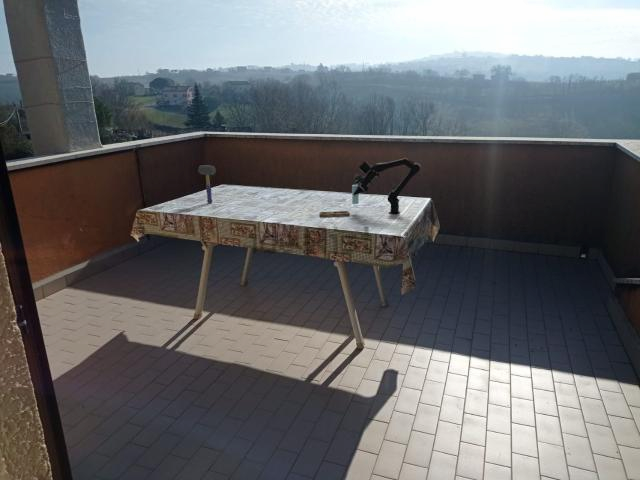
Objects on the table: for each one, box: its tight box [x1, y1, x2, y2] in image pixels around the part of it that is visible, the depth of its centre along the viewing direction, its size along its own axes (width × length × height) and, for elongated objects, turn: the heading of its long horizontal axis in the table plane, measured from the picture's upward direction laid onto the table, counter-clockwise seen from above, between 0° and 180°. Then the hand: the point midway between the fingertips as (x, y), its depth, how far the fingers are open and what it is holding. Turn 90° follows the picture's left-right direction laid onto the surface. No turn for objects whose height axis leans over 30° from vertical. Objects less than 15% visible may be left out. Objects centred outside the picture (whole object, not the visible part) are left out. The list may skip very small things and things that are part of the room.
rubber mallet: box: [197, 164, 217, 204], centre depth 357 cm, size 12×8×30 cm, turn 66°
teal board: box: [351, 184, 360, 205], centre depth 320 cm, size 4×2×13 cm, turn 97°
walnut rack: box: [319, 210, 351, 218], centre depth 318 cm, size 20×7×2 cm, turn 96°
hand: (353, 194), depth 320 cm, fingers closed on teal board, 2 cm apart
